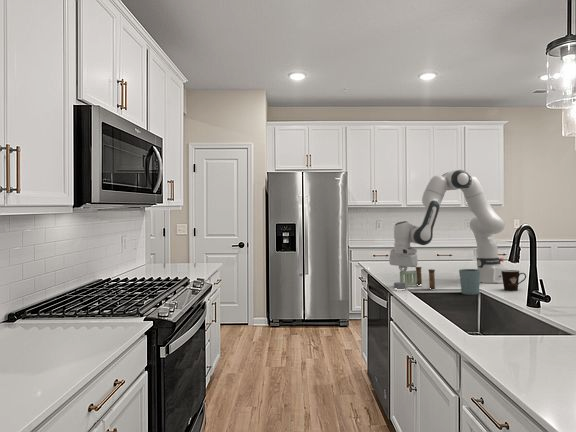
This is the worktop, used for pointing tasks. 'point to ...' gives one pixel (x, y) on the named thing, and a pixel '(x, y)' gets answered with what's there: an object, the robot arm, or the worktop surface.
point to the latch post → (431, 278)
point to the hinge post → (419, 275)
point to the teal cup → (469, 281)
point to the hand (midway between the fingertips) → (403, 273)
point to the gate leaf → (409, 277)
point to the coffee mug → (511, 279)
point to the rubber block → (399, 285)
